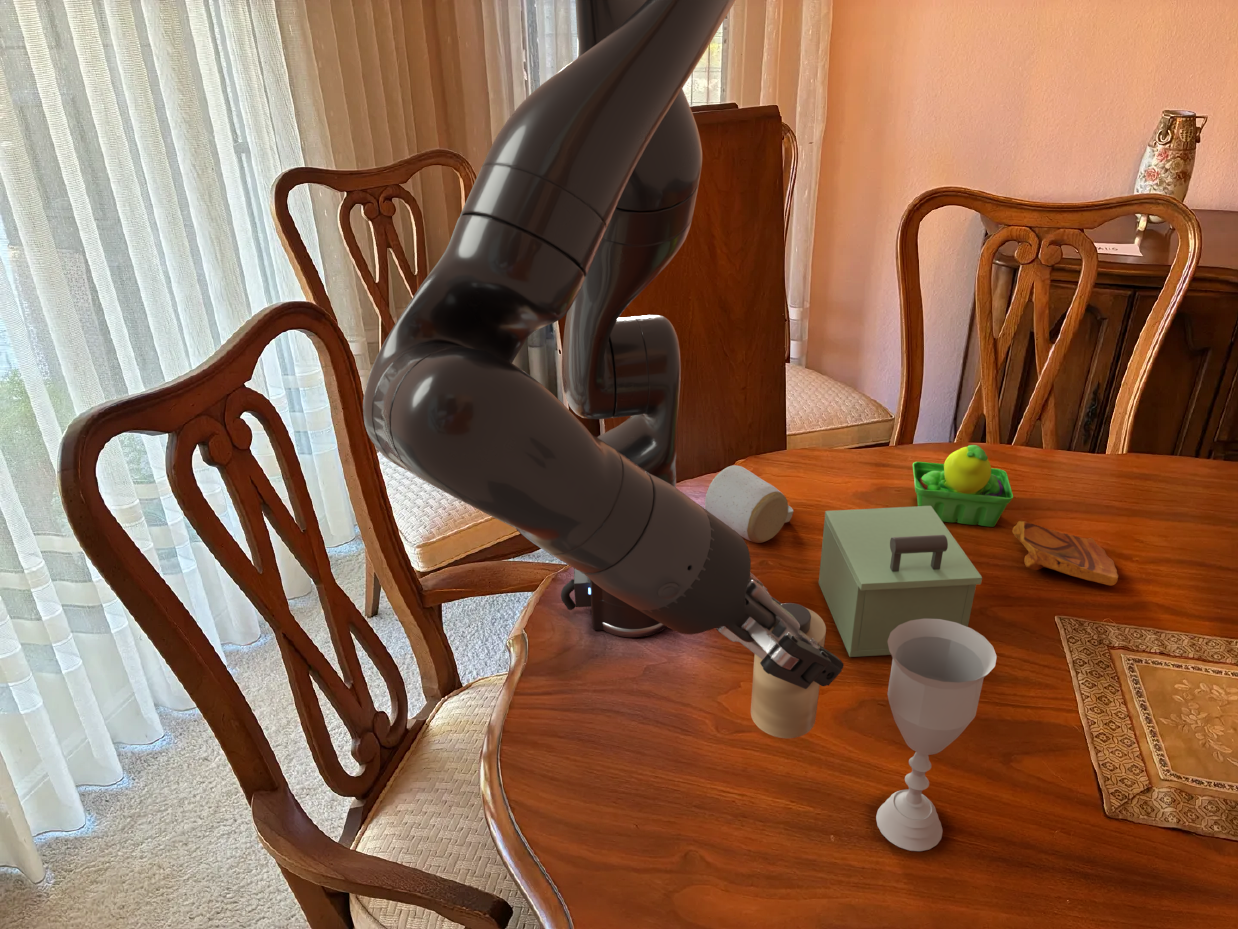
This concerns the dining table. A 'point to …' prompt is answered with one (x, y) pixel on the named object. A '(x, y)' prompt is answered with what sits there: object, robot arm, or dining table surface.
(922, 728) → the chalice
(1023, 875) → the dining table surface
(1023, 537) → the pottery fragment
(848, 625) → the bread box
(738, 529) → the ceramic mug
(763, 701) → the pepper mill
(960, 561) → the bread box lid
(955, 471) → the fruit basket
